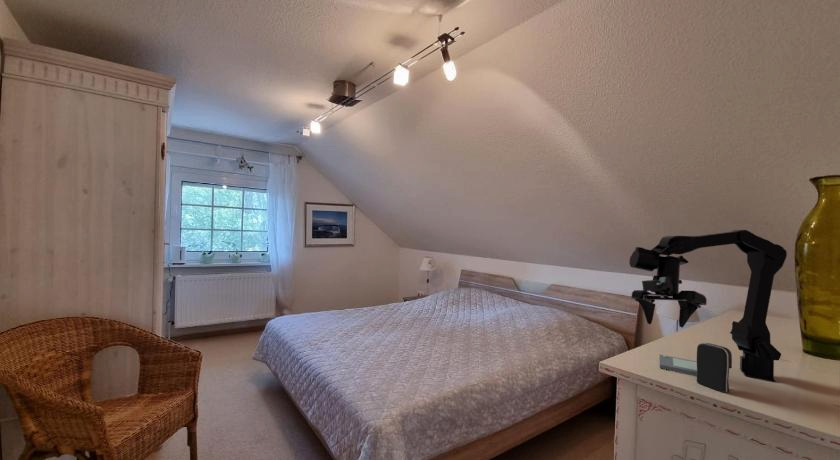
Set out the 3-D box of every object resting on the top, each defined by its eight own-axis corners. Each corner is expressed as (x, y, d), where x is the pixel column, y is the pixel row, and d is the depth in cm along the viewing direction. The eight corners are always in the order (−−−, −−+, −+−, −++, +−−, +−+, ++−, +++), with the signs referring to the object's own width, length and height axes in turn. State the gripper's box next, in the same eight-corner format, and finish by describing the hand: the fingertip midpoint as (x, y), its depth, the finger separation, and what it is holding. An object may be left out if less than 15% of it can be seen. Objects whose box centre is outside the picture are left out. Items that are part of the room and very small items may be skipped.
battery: (733, 391, 90) (734, 348, 90) (725, 393, 89) (726, 349, 89) (703, 381, 97) (704, 340, 97) (695, 382, 95) (696, 341, 95)
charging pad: (714, 368, 107) (714, 364, 107) (719, 380, 97) (719, 375, 97) (659, 358, 115) (659, 353, 115) (659, 368, 105) (659, 363, 105)
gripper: (622, 268, 112) (617, 316, 108) (683, 265, 95) (680, 321, 91) (645, 278, 116) (641, 324, 112) (708, 277, 99) (706, 331, 95)
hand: (664, 325), depth 102 cm, fingers open, 9 cm apart
